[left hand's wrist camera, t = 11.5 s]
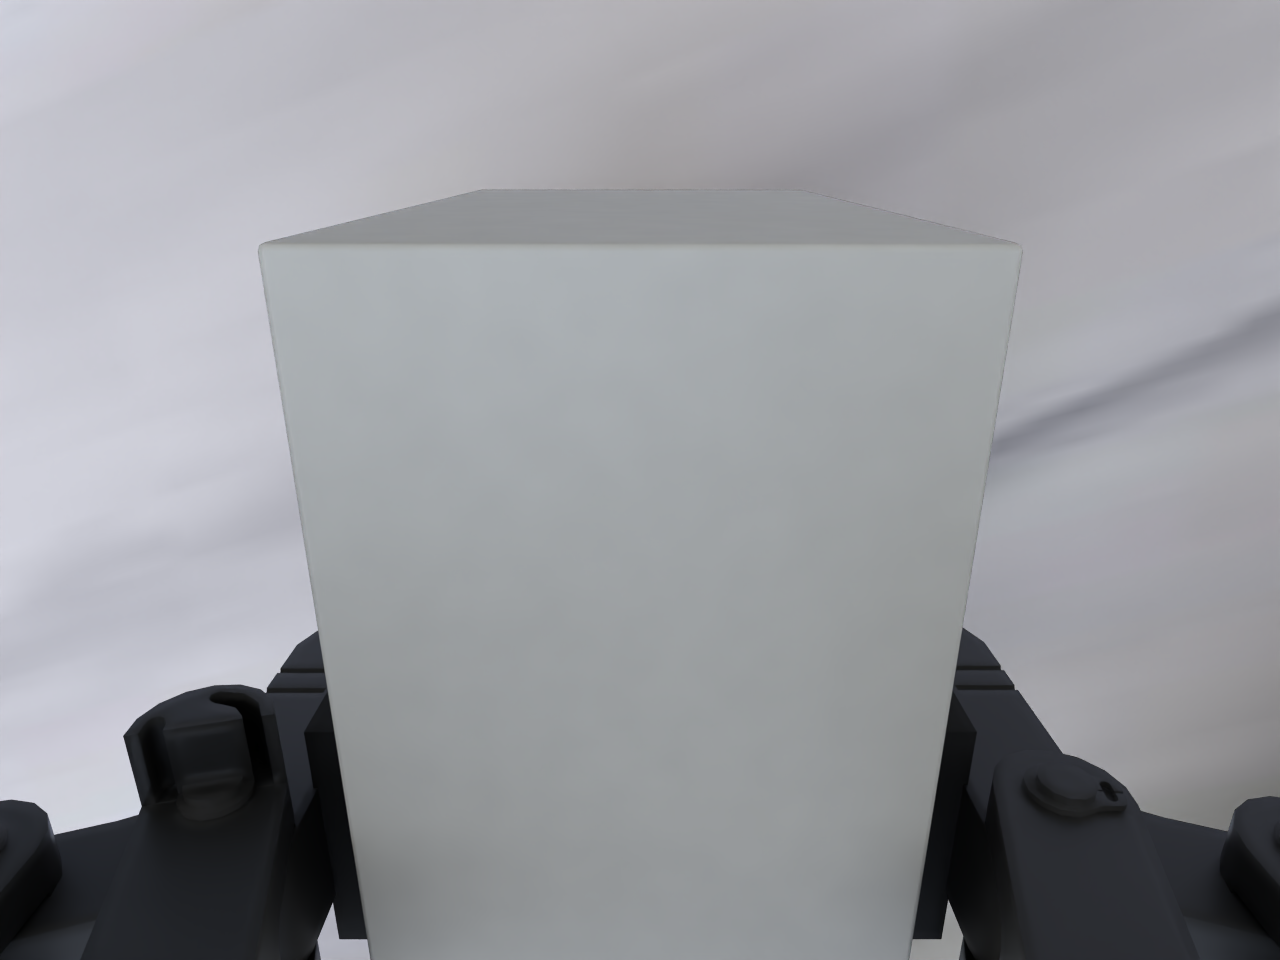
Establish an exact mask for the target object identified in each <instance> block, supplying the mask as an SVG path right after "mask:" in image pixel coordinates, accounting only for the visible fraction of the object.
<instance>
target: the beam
mask: <svg viewBox="0 0 1280 960" xmlns="http://www.w3.org/2000/svg"><path fill="white" fill-rule="evenodd" d="M1022 253H1023V251H1022V246H1021V245H1019V244H1017V243H1014V242H1010V241H1006V240H1002V239H998V238H994V237H990V236H986V235H981V234H977V233H973V232H969V231H965V230H961V229H957V228H953V227H949V226H945V225H941V224H937V223H933V222H929V221H925V220H921V219H917V218H913V217H909V216H905V215H900V214H896V213H892V212H888V211H884V210H880V209H876V208H872V207H868V206H864V205H860V204H856V203H852V202H848V201H844V200H840V199H836V198H832V197H828V196H824V195H819V194H815V193H811V192H807V191H803V190H479V191H475V192H470V193H466V194H462V195H458V196H454V197H450V198H446V199H442V200H437V201H433V202H429V203H425V204H421V205H417V206H413V207H408V208H404V209H400V210H396V211H392V212H388V213H384V214H380V215H375V216H371V217H367V218H363V219H359V220H355V221H351V222H347V223H342V224H338V225H334V226H330V227H326V228H322V229H318V230H314V231H309V232H305V233H301V234H297V235H293V236H289V237H285V238H281V239H276V240H272V241H268V242H265V243H262V244H260V245H259V249H258V255H259V261H260V267H261V273H262V280H263V286H264V292H265V299H266V305H267V311H268V317H269V324H270V330H271V336H272V343H273V349H274V355H275V361H276V368H277V374H278V380H279V387H280V393H281V399H282V405H283V412H284V418H285V424H286V431H287V437H288V443H289V450H290V456H291V462H292V468H293V475H294V481H295V487H296V494H297V500H298V506H299V512H300V519H301V525H302V531H303V538H304V544H305V550H306V556H307V563H308V569H309V575H310V582H311V588H312V594H313V600H314V607H315V613H316V619H317V626H318V632H319V638H320V644H321V651H322V657H323V663H324V670H325V676H326V682H327V689H328V695H329V701H330V707H331V714H332V720H333V726H334V733H335V739H336V745H337V751H338V758H339V764H340V770H341V777H342V783H343V789H344V795H345V802H346V808H347V814H348V821H349V827H350V833H351V839H352V846H353V852H354V858H355V865H356V871H357V877H358V883H359V890H360V896H361V902H362V909H363V915H364V921H365V927H366V934H367V940H368V946H369V953H370V959H371V960H909V957H910V951H911V945H912V939H913V932H914V926H915V920H916V914H917V907H918V901H919V895H920V889H921V882H922V876H923V870H924V864H925V858H926V851H927V845H928V839H929V833H930V826H931V820H932V814H933V808H934V802H935V795H936V789H937V783H938V777H939V770H940V764H941V758H942V752H943V745H944V739H945V733H946V727H947V721H948V714H949V708H950V702H951V696H952V689H953V683H954V677H955V671H956V664H957V658H958V652H959V646H960V640H961V633H962V627H963V621H964V615H965V608H966V602H967V596H968V590H969V583H970V577H971V571H972V565H973V559H974V552H975V546H976V540H977V534H978V527H979V521H980V515H981V509H982V502H983V496H984V490H985V484H986V478H987V471H988V465H989V459H990V453H991V446H992V440H993V434H994V428H995V421H996V415H997V409H998V403H999V397H1000V390H1001V384H1002V378H1003V372H1004V365H1005V359H1006V353H1007V347H1008V340H1009V334H1010V328H1011V322H1012V316H1013V309H1014V303H1015V297H1016V291H1017V284H1018V278H1019V272H1020V266H1021V260H1022Z"/></svg>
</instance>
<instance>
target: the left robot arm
mask: <svg viewBox="0 0 1280 960" xmlns="http://www.w3.org/2000/svg"><path fill="white" fill-rule="evenodd" d="M123 737H124V741H125V744H126V748H127V752H128V756H129V760H130V763H131V767H132V771H133V775H134V778H135V782H136V786H137V790H138V793H139V797H140V801H141V805H142V808H141V810H140V812H139V815H136V816H133V817H130V818H126V819H123V820H119V821H115V822H110V823H106V824H101V825H97V826H92V827H88V828H83V829H79V830H74V831H70V832H65V833H61V834H56V835H54V834H53V830H52V827H51V824H50V821H49V818H48V815H47V813H46V812H45V811H43V810H42V809H41V808H40V807H39V806H37V805H36V804H35V803H31V802H24V801H17V800H6V801H0V960H321V958H320V952H319V946H318V941H317V939H318V937H319V935H320V932H321V930H322V927H323V925H324V922H325V920H326V918H327V915H328V913H329V910H330V908H331V905H332V903H333V905H334V911H335V916H336V922H337V928H338V934H339V939H367V934H366V927H365V921H364V915H363V909H362V902H361V896H360V890H359V883H358V877H357V871H356V865H355V858H354V852H353V846H352V839H351V833H350V827H349V821H348V814H347V808H346V802H345V795H344V789H343V783H342V777H341V770H340V764H339V758H338V751H337V745H336V739H335V733H334V726H333V720H332V714H331V707H330V701H329V695H328V689H327V682H326V676H325V670H324V663H323V657H322V651H321V644H320V638H319V632H318V631H317V632H315V633H314V634H312V635H311V636H309V637H308V638H306V639H305V640H304V641H302V642H301V643H299V644H298V645H297V646H296V647H295V649H294V650H293V652H292V653H291V654H290V656H289V657H288V659H287V660H286V662H285V663H284V664H283V666H282V667H281V672H280V673H277V674H276V676H275V677H274V679H273V680H272V681H271V683H270V684H269V686H268V687H267V693H264V692H263V691H262V690H261V689H257V688H252V687H248V686H244V685H214V686H210V687H206V688H201V689H197V690H193V691H188V692H185V693H183V694H180V695H178V696H176V697H173V698H171V699H169V700H166V701H164V702H162V703H159V704H158V705H156V706H155V707H153V708H152V709H151V710H149V711H148V712H146V713H145V714H143V715H142V716H140V717H139V718H138V719H136V721H135V722H134V723H133V724H132V726H131V727H130V728H129V729H128V731H127V732H126V733H125V734H124V736H123ZM948 900H949V902H950V904H951V907H952V909H953V912H954V914H955V917H956V919H957V921H958V924H959V926H960V929H961V931H962V933H963V941H962V946H961V952H960V957H959V960H1280V797H1272V796H1268V797H1262V798H1255V799H1248V800H1246V801H1245V802H1244V803H1243V804H1242V805H1240V806H1239V807H1238V808H1237V809H1235V811H1234V814H1233V817H1232V820H1231V824H1230V827H1229V830H1228V832H1227V831H1222V830H1218V829H1213V828H1209V827H1204V826H1200V825H1195V824H1191V823H1186V822H1182V821H1177V820H1173V819H1168V818H1164V817H1160V816H1157V815H1153V814H1150V813H1146V812H1143V811H1140V808H1139V806H1138V804H1137V803H1136V801H1135V800H1134V799H1133V797H1132V796H1131V794H1130V793H1129V791H1128V790H1127V788H1126V787H1125V786H1124V785H1122V784H1121V783H1120V782H1119V781H1117V780H1116V779H1115V778H1114V777H1112V776H1111V775H1110V774H1109V773H1107V772H1106V771H1105V770H1103V769H1101V768H1099V767H1097V766H1094V765H1092V764H1090V763H1088V762H1086V761H1084V760H1082V759H1080V758H1077V757H1074V756H1070V755H1066V754H1063V753H1062V752H1061V750H1060V749H1059V748H1058V746H1057V745H1056V743H1055V742H1054V740H1053V739H1052V738H1051V736H1050V735H1049V733H1048V732H1047V731H1046V729H1045V728H1044V726H1043V725H1042V724H1041V722H1040V721H1039V719H1038V718H1037V716H1036V715H1035V714H1034V712H1033V711H1032V709H1031V708H1030V707H1029V705H1028V704H1027V702H1026V701H1025V699H1024V698H1023V697H1022V695H1021V694H1020V692H1019V691H1018V690H1015V689H1014V684H1013V682H1012V681H1011V680H1010V678H1009V677H1008V675H1007V674H1006V673H1005V671H1004V670H1001V665H1000V664H999V663H998V661H997V660H996V658H995V657H994V656H993V654H992V653H991V651H990V650H989V649H988V647H987V646H986V644H985V643H984V642H983V641H982V640H980V639H979V638H977V637H976V636H974V635H973V634H971V633H970V632H968V631H967V630H966V629H964V628H963V627H962V633H961V640H960V646H959V652H958V658H957V664H956V671H955V677H954V683H953V689H952V696H951V702H950V708H949V714H948V721H947V727H946V733H945V739H944V745H943V752H942V758H941V764H940V770H939V777H938V783H937V789H936V795H935V802H934V808H933V814H932V820H931V826H930V833H929V839H928V845H927V851H926V858H925V864H924V870H923V876H922V882H921V889H920V895H919V901H918V907H917V914H916V920H915V926H914V932H913V939H941V938H942V932H943V926H944V920H945V914H946V909H947V903H948Z"/></svg>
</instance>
